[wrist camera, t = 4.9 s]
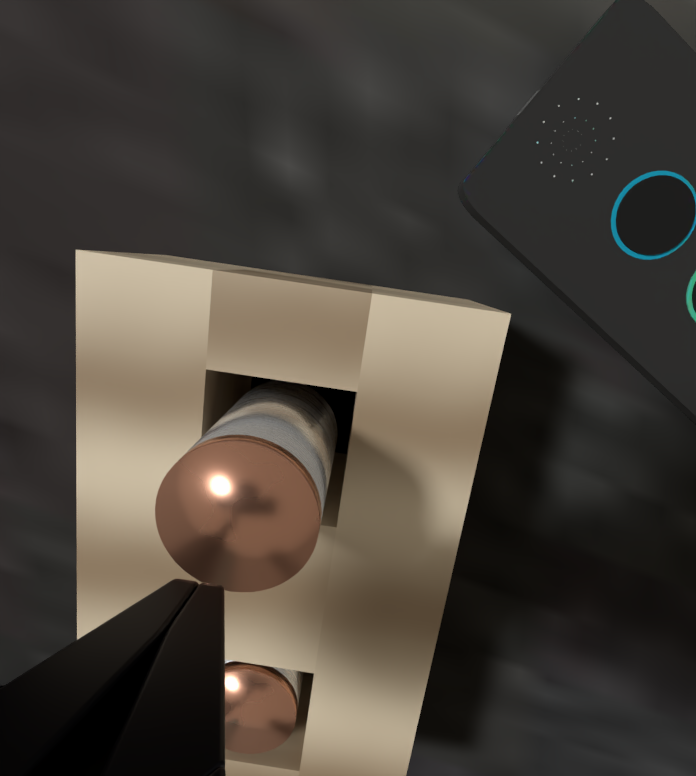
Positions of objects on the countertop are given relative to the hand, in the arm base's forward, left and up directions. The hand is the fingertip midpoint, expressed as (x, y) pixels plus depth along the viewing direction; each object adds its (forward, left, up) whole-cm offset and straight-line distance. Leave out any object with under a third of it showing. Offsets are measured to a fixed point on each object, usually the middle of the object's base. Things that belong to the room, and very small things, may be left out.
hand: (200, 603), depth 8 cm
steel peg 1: (0, 0, -8) cm, 8 cm away
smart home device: (+7, -15, -13) cm, 21 cm away
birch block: (-5, 0, -12) cm, 13 cm away
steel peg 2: (-10, 0, -12) cm, 16 cm away
